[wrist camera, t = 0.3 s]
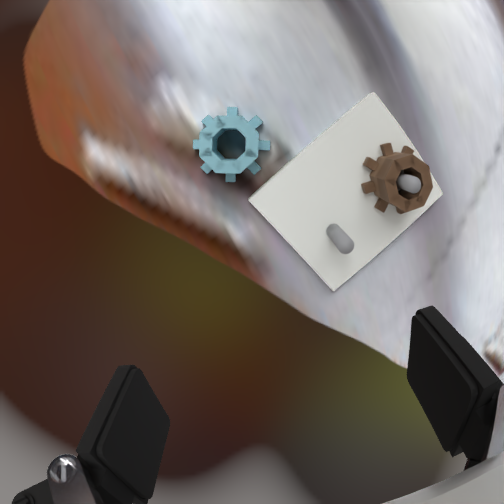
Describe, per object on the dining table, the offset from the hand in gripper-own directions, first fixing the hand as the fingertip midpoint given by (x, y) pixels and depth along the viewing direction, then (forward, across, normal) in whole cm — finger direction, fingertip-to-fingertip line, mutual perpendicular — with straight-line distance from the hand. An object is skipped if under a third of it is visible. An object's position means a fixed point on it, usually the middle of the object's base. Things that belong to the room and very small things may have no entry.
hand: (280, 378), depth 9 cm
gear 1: (+28, +2, -8) cm, 30 cm away
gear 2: (+27, -16, -1) cm, 32 cm away
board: (+28, -12, 0) cm, 31 cm away
